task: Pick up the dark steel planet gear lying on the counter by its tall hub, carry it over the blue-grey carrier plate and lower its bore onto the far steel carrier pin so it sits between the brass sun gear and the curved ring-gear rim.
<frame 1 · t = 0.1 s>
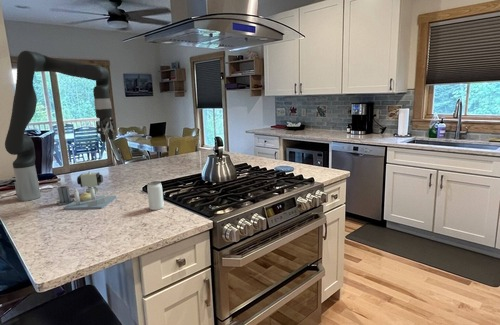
hand: (107, 140, 159), 29 cm above the countertop, tool pointing down, fingers open, 8 cm apart
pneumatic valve: (92, 193, 171), on the countertop
carrier: (91, 203, 154), on the countertop
planet gear: (65, 202, 157), on the countertop
can: (156, 208, 145), on the countertop
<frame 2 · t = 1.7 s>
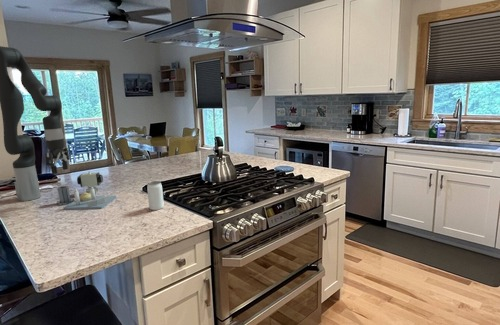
hand: (60, 171, 153), 16 cm above the countertop, tool pointing down, fingers open, 8 cm apart
nothing on the countertop moved.
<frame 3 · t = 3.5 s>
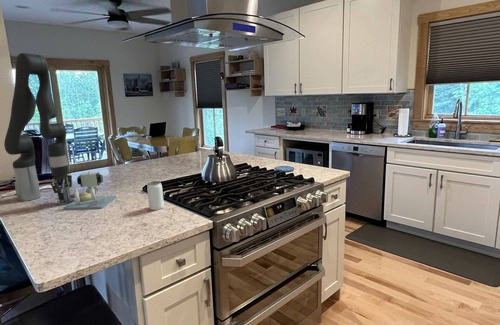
hand: (64, 198, 156), 2 cm above the countertop, tool pointing down, fingers closed on planet gear, 4 cm apart
planet gear: (65, 202, 157), on the countertop, touching gripper
everything else where it was.
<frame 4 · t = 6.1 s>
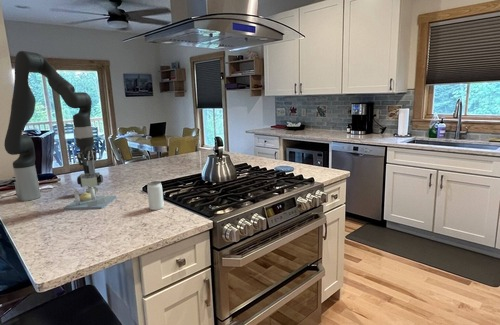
hand: (89, 171, 150), 16 cm above the countertop, tool pointing down, fingers closed on planet gear, 4 cm apart
planet gear: (90, 176, 150), point 14 cm above the countertop, touching gripper
everything else where it was.
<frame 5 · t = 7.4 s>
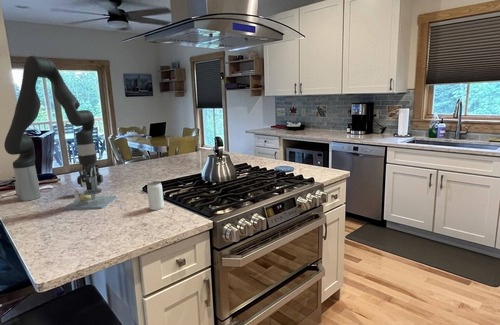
hand: (92, 188, 152), 8 cm above the countertop, tool pointing down, fingers closed on planet gear, 4 cm apart
planet gear: (92, 192, 152), point 6 cm above the countertop, touching gripper
everything else where it was.
when the fingers open (4 cm above the countertop, at t = 8.7 s): planet gear stays where it is, resting on carrier.
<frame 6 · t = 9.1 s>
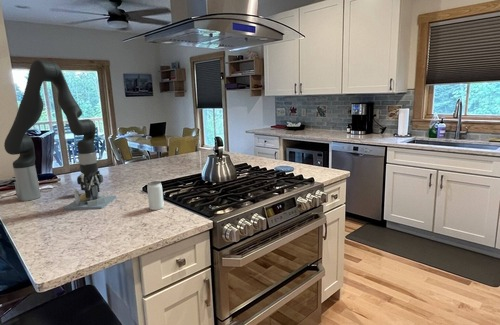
hand: (93, 194, 152), 5 cm above the countertop, tool pointing down, fingers open, 8 cm apart
planet gear: (94, 201, 153), point 1 cm above the countertop, touching carrier
everything else where it was.
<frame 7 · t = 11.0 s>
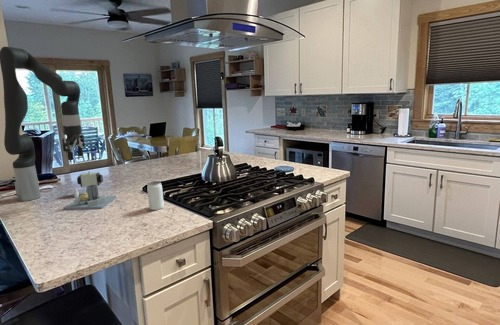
hand: (75, 158, 152), 22 cm above the countertop, tool pointing down, fingers open, 8 cm apart
nothing on the countertop moved.
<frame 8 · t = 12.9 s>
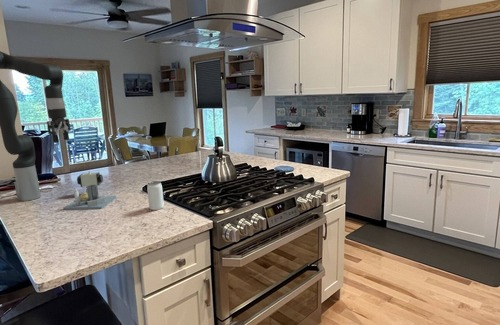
hand: (61, 141, 155), 30 cm above the countertop, tool pointing down, fingers open, 8 cm apart
nothing on the countertop moved.
at the end: planet gear 0.1 cm from the target spot on the carrier, point 1.0 cm above the carrier's base; planet gear tilted 0°; the gripper is holding nothing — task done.
